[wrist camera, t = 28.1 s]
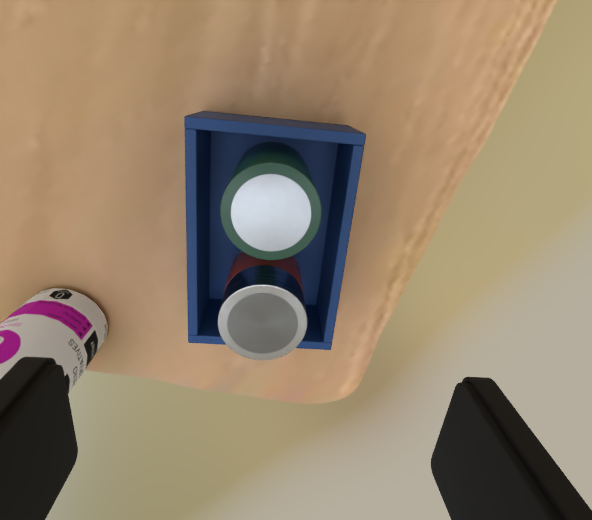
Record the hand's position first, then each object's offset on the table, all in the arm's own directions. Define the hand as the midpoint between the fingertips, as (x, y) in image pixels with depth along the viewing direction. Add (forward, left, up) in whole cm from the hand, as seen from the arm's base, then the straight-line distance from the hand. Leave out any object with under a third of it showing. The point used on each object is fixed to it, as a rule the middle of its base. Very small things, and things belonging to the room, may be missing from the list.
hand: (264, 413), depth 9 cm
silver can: (+9, 0, -28) cm, 29 cm away
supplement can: (+17, -20, -28) cm, 39 cm away
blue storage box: (+4, 0, -28) cm, 29 cm away
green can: (0, 0, -28) cm, 28 cm away
